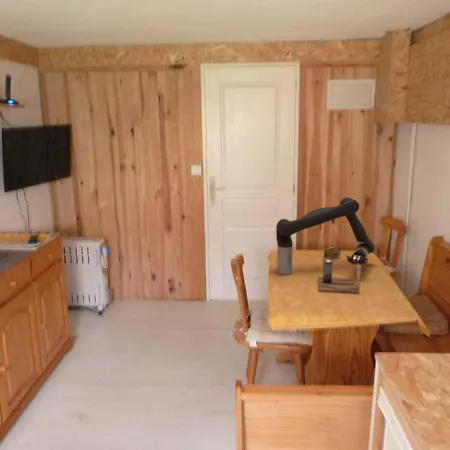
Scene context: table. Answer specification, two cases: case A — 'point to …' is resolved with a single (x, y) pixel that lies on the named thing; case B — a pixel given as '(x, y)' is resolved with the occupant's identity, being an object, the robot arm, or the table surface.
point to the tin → (332, 252)
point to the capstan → (329, 265)
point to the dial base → (341, 284)
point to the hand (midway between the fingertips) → (353, 263)
